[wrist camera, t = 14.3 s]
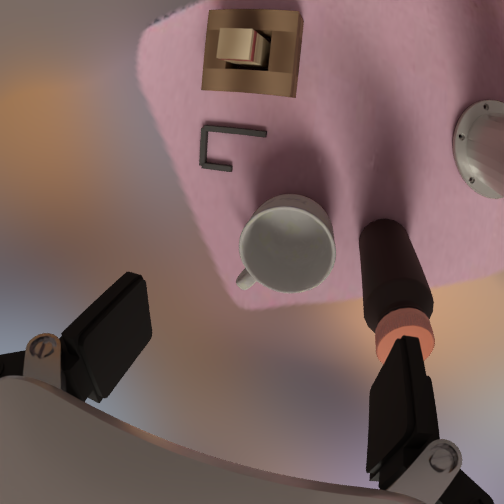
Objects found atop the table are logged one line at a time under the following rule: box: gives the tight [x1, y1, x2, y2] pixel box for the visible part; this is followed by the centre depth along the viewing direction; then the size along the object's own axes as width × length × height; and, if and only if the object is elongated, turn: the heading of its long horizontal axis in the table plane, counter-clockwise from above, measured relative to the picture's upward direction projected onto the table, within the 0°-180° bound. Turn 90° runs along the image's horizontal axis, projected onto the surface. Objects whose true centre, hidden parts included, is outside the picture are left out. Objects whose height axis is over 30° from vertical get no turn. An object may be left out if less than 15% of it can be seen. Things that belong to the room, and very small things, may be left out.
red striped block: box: [216, 28, 271, 69], centre depth 29 cm, size 3×3×9 cm
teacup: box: [236, 194, 336, 293], centre depth 39 cm, size 14×11×8 cm
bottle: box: [359, 219, 435, 364], centre depth 30 cm, size 7×7×20 cm
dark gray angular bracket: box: [199, 125, 267, 172], centre depth 39 cm, size 8×6×1 cm
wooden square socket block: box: [201, 9, 304, 98], centre depth 31 cm, size 10×10×4 cm
